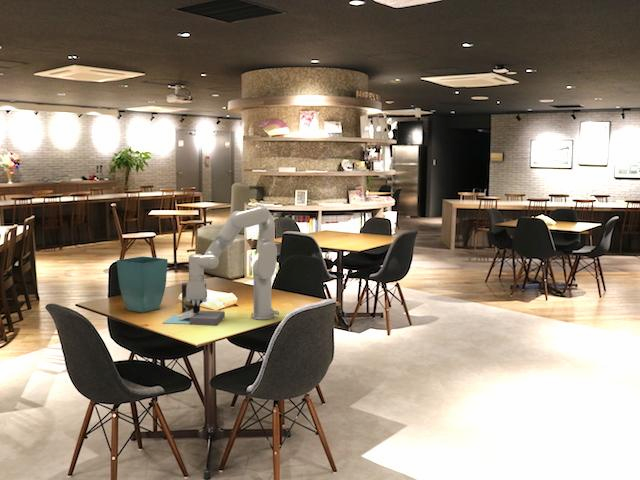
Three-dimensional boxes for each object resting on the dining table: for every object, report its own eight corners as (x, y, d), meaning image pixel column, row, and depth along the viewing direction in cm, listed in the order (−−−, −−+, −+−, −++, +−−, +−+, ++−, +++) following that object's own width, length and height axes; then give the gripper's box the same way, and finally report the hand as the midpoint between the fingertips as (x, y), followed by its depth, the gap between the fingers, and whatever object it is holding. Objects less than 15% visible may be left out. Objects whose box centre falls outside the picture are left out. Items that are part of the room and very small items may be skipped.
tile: (197, 312, 334) (195, 308, 333) (193, 315, 327) (191, 311, 327) (184, 317, 335) (182, 313, 335) (179, 320, 328) (177, 316, 328)
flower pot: (144, 303, 367) (142, 255, 363) (169, 308, 357) (168, 258, 353) (117, 310, 350) (115, 260, 346) (142, 315, 340) (141, 263, 336)
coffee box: (181, 314, 343) (181, 285, 341) (182, 311, 350) (181, 282, 348) (199, 313, 345) (198, 284, 343) (198, 310, 351) (198, 282, 349)
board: (224, 317, 337) (224, 311, 336) (216, 325, 321) (216, 318, 320) (199, 316, 338) (199, 310, 338) (189, 324, 322) (189, 317, 322)
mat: (198, 316, 338) (198, 316, 338) (189, 324, 322) (189, 323, 322) (172, 315, 340) (172, 315, 340) (162, 323, 324) (162, 322, 324)
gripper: (212, 277, 330) (212, 311, 333) (184, 276, 332) (185, 310, 334) (208, 279, 323) (208, 314, 325) (179, 278, 324) (180, 313, 327)
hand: (196, 312), depth 330 cm, fingers closed
